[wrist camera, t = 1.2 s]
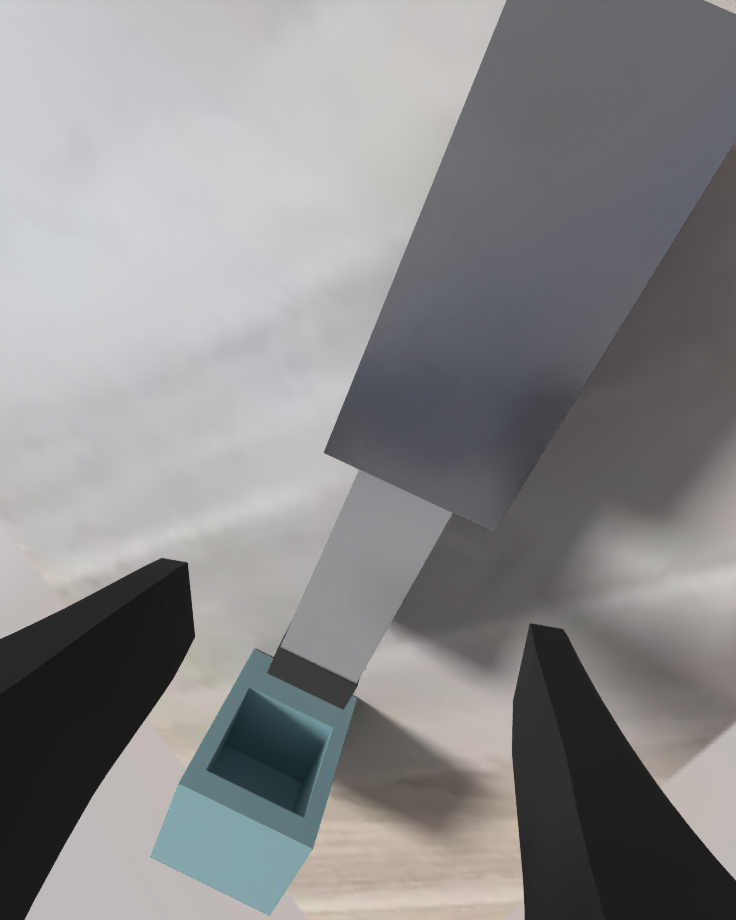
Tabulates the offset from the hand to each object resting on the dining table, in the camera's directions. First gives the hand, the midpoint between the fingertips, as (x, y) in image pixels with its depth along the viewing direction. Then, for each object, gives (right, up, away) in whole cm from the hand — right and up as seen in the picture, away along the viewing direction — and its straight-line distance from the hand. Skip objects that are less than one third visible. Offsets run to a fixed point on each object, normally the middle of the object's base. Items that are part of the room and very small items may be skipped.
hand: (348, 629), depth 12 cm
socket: (-3, -8, +14) cm, 16 cm away
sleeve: (+4, +9, +5) cm, 11 cm away
